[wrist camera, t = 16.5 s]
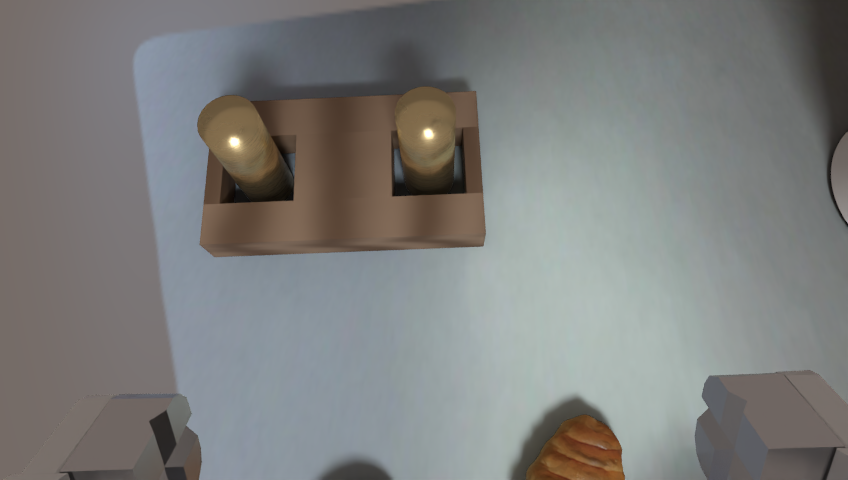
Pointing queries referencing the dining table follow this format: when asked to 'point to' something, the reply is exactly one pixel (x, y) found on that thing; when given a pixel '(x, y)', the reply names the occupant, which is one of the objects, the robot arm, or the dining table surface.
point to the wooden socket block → (345, 185)
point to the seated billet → (245, 148)
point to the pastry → (579, 453)
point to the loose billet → (426, 140)
